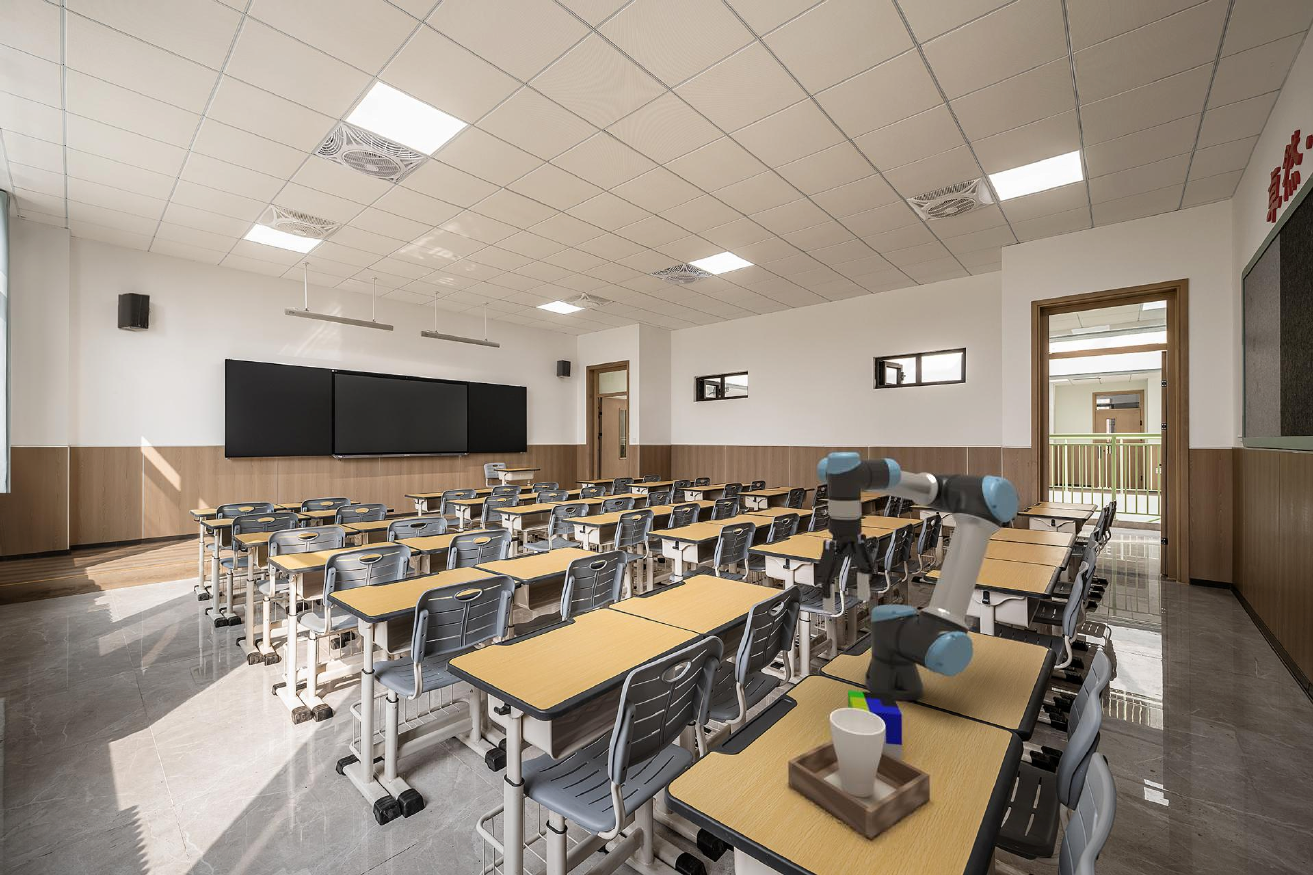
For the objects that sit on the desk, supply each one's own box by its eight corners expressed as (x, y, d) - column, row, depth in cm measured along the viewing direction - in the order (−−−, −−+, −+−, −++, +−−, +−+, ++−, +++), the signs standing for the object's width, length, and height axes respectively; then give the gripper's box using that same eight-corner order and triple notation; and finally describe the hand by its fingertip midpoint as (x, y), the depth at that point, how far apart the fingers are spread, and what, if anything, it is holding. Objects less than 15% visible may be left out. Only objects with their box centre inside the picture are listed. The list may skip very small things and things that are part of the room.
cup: (880, 812, 103) (880, 740, 103) (823, 793, 109) (823, 724, 109) (890, 782, 112) (889, 716, 112) (837, 766, 118) (837, 703, 118)
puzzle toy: (902, 760, 122) (901, 714, 122) (854, 755, 124) (854, 710, 124) (892, 736, 132) (892, 694, 132) (848, 731, 134) (847, 690, 134)
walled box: (847, 754, 124) (846, 732, 124) (929, 800, 108) (929, 774, 108) (788, 785, 113) (788, 760, 113) (870, 840, 97) (870, 812, 97)
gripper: (861, 510, 143) (863, 592, 143) (798, 521, 128) (800, 612, 128) (888, 513, 137) (890, 598, 137) (825, 525, 122) (827, 621, 122)
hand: (846, 605), depth 133 cm, fingers open, 13 cm apart
